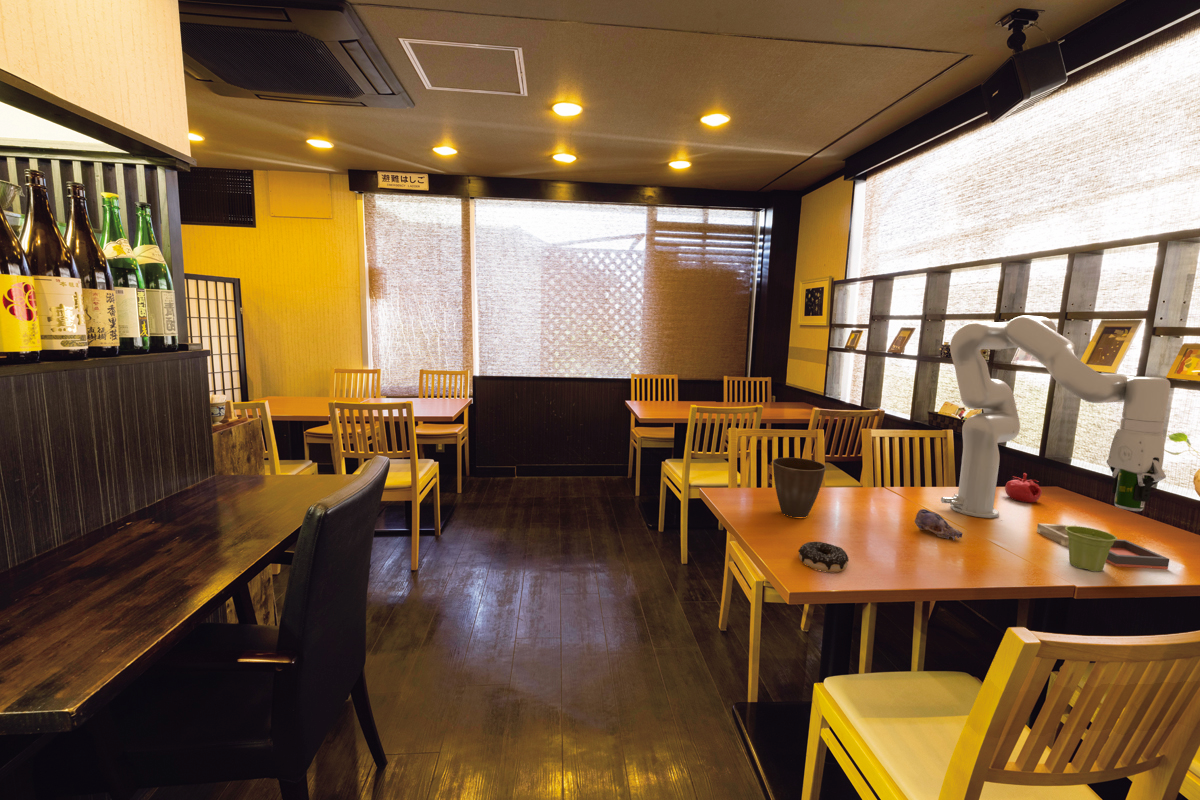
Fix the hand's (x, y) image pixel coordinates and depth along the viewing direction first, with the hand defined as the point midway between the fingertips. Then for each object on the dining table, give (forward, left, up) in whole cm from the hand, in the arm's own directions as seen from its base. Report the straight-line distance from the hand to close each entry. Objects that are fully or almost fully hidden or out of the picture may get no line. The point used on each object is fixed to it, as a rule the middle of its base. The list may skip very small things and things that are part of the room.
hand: (1130, 496), depth 135 cm
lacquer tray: (0, 0, -16) cm, 16 cm away
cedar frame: (-4, +11, -16) cm, 20 cm away
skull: (-40, +10, -17) cm, 44 cm away
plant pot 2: (-14, -7, -16) cm, 23 cm away
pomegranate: (+8, +48, -16) cm, 51 cm away
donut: (-79, -15, -17) cm, 82 cm away
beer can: (0, 0, -3) cm, 3 cm away
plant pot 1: (-76, +20, -16) cm, 80 cm away
